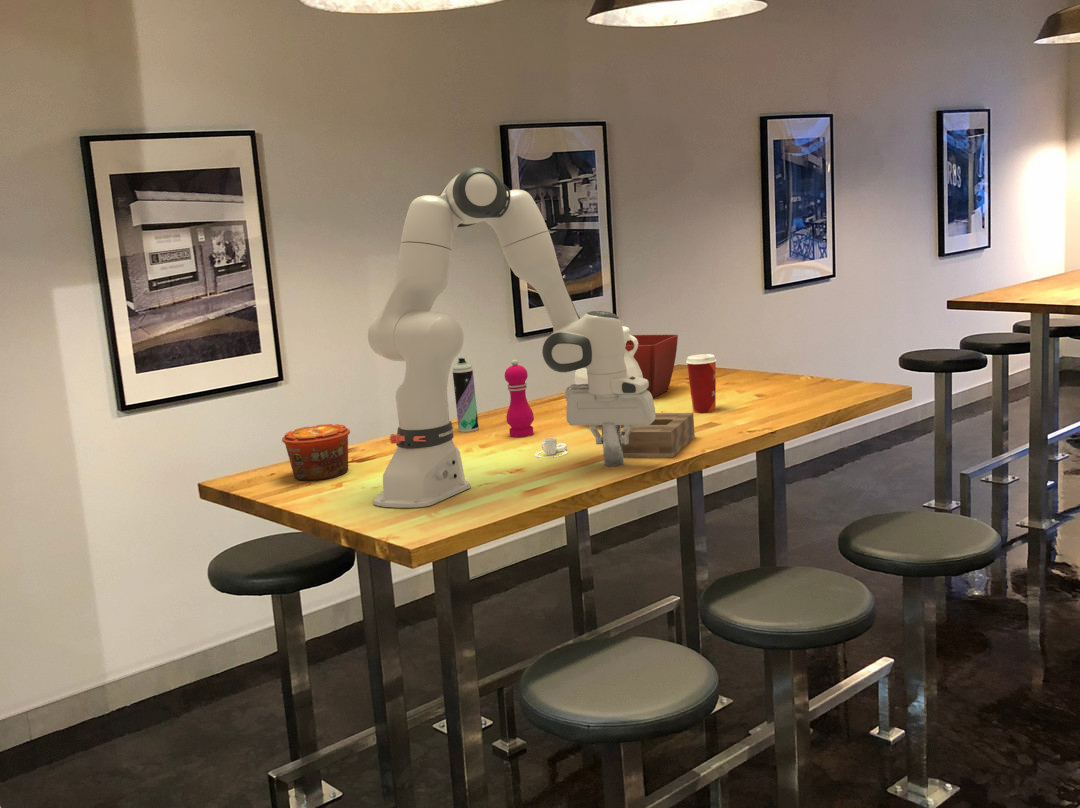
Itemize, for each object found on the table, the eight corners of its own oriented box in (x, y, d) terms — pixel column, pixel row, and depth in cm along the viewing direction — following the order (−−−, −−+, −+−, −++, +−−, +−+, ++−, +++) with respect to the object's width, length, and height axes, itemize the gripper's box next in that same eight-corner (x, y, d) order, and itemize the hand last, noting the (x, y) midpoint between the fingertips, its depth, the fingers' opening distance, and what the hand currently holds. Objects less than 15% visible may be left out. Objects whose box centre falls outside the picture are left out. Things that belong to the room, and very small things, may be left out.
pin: (620, 466, 236) (616, 422, 234) (601, 466, 237) (598, 423, 236) (626, 461, 240) (623, 418, 238) (608, 461, 241) (604, 418, 240)
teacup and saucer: (563, 449, 259) (561, 433, 258) (576, 455, 252) (574, 438, 251) (530, 455, 256) (528, 438, 255) (541, 461, 249) (540, 444, 248)
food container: (274, 478, 254) (268, 435, 252) (328, 462, 265) (323, 421, 263) (313, 486, 243) (307, 441, 241) (368, 469, 255) (362, 426, 253)
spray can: (455, 432, 288) (447, 359, 284) (465, 427, 293) (458, 356, 289) (472, 432, 285) (464, 359, 282) (482, 428, 290) (475, 356, 286)
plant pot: (657, 402, 304) (653, 344, 301) (598, 401, 314) (593, 344, 310) (682, 389, 320) (679, 334, 317) (625, 388, 330) (621, 335, 326)
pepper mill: (532, 437, 273) (525, 361, 269) (505, 438, 275) (497, 362, 271) (537, 430, 280) (531, 356, 276) (511, 432, 282) (504, 358, 278)
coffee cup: (725, 410, 284) (722, 355, 281) (698, 415, 281) (695, 359, 278) (709, 406, 292) (706, 352, 289) (683, 410, 289) (679, 356, 286)
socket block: (672, 457, 239) (671, 432, 238) (622, 457, 244) (620, 431, 243) (694, 436, 257) (693, 412, 256) (647, 436, 262) (645, 413, 261)
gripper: (559, 387, 236) (564, 447, 239) (647, 385, 228) (651, 447, 231) (569, 381, 242) (574, 440, 245) (655, 380, 234) (659, 440, 237)
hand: (612, 444), depth 238 cm, fingers closed on pin, 4 cm apart
